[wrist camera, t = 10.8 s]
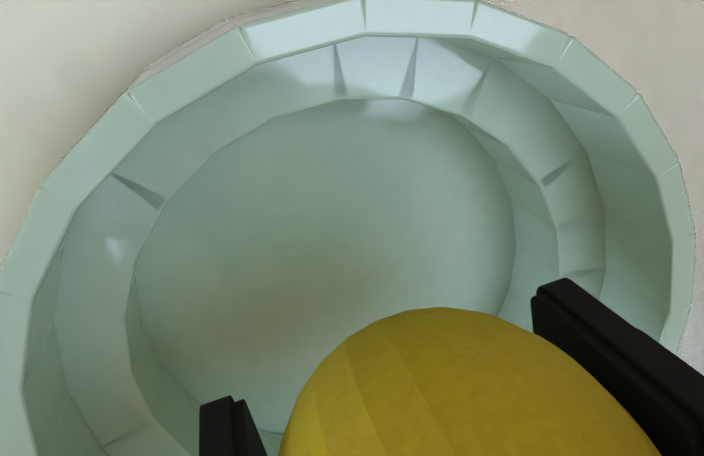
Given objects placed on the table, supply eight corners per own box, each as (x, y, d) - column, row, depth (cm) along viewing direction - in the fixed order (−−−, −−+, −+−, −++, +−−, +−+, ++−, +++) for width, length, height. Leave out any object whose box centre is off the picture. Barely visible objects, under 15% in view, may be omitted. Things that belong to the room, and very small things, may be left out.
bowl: (-34, 393, 14) (-145, 578, 9) (223, -144, 11) (240, -246, 7) (400, 505, 20) (459, 653, 15) (643, 169, 17) (805, 229, 12)
